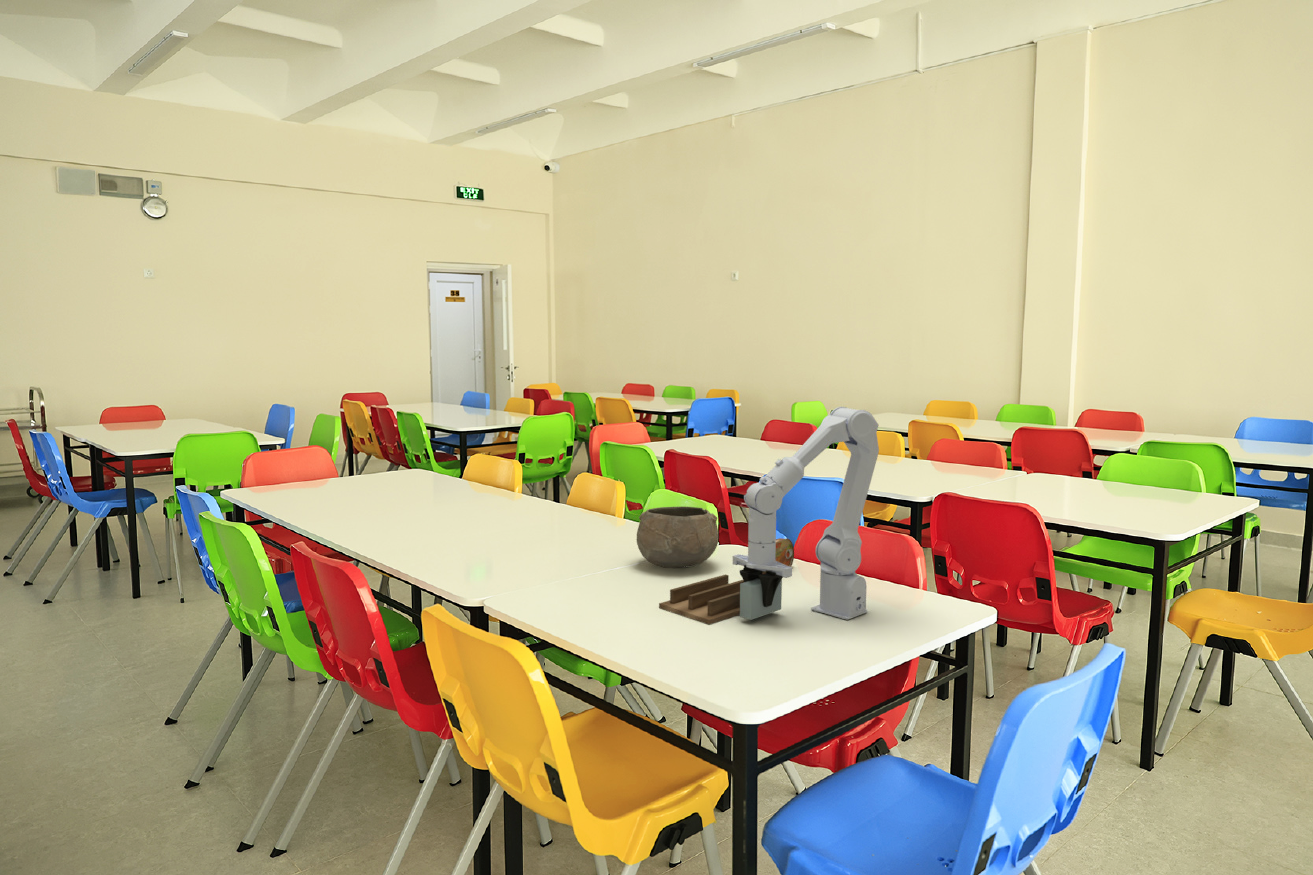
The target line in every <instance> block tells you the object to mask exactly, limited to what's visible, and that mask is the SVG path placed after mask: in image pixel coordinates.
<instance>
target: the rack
mask: <svg viewBox="0 0 1313 875" xmlns="http://www.w3.org/2000/svg"><path fill="white" fill-rule="evenodd" d="M729 577H730V576H729V575H728V574H722V575H718V576H715V577H711V578H708V579H705V580H700V581H697V582H693V583H690V584H686V585H682V586H678V587H675V588H671V589H670V590H669V600H666V601H663V602H659V603H658V608H659V609H661V610H664V611H667V612H670V611H671V612H670V613H673V614H676V615H679V616H682V617H686V618H689V619H691V620H695V621H697V622H700V623H704V624H707V625H708V626H709V625H712V624H715V623H718V622H722V621H724V620H727V619H730V618H733V617H736V616H740V584H741V583H744V580H743V579H741V580H737V581H733V582H730V583H729Z"/></svg>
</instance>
